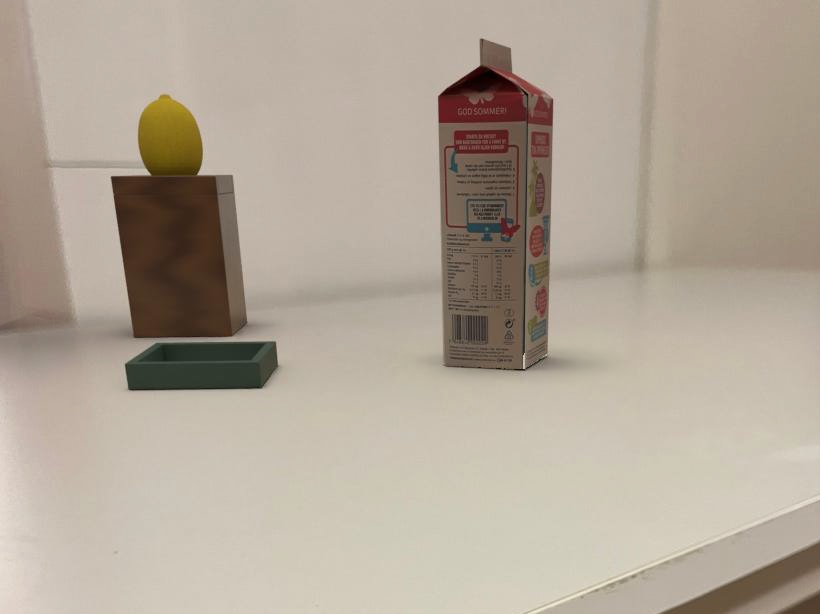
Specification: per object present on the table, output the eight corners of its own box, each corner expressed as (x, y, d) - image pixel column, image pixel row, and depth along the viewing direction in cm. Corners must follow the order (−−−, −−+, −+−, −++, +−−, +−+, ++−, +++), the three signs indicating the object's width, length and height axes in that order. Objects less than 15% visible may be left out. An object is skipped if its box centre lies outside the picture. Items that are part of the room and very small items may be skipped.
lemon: (139, 193, 93) (126, 95, 90) (199, 192, 95) (189, 96, 92) (151, 194, 89) (138, 91, 85) (214, 193, 91) (203, 92, 88)
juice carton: (443, 365, 79) (436, 40, 70) (471, 351, 85) (468, 49, 75) (524, 370, 77) (528, 36, 68) (547, 355, 83) (554, 46, 73)
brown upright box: (133, 337, 93) (110, 176, 87) (156, 323, 101) (136, 175, 95) (232, 336, 93) (215, 175, 88) (247, 322, 101) (232, 174, 96)
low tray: (128, 389, 71) (124, 363, 70) (159, 366, 79) (155, 342, 78) (261, 387, 71) (258, 361, 70) (278, 364, 80) (276, 341, 79)
